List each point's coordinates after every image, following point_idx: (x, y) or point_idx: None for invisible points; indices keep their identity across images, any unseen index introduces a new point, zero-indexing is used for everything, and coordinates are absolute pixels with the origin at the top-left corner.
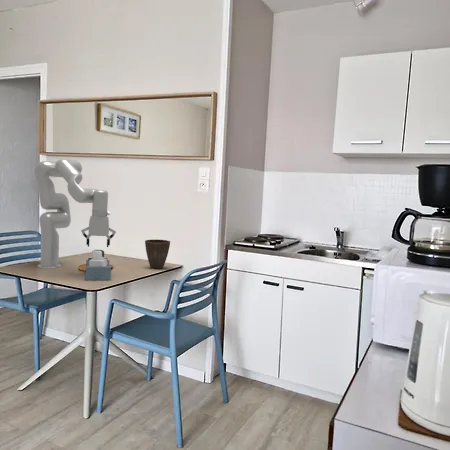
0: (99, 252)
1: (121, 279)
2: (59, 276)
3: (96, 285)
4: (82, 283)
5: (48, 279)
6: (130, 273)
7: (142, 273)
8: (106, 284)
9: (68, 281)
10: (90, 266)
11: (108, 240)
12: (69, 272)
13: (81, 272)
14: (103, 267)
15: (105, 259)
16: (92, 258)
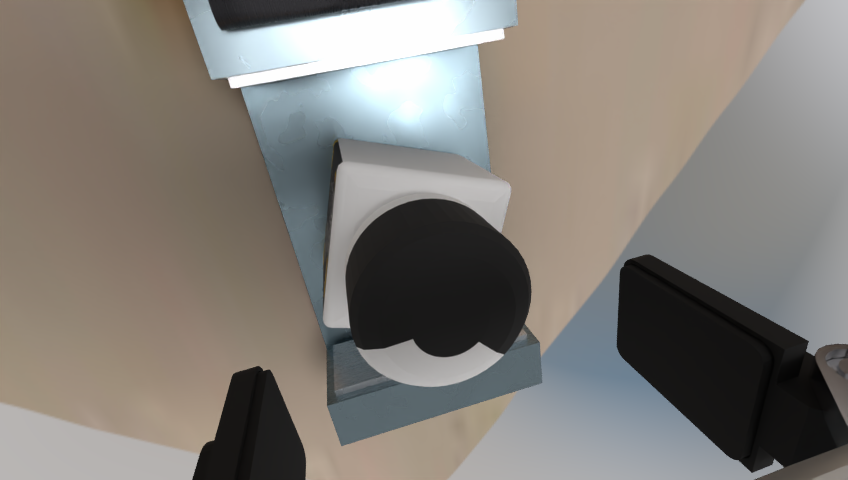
0: (471, 375)
1: (566, 287)
2: (66, 297)
3: (432, 453)
4: None
5: (40, 410)
6: (645, 62)
7: (734, 48)
8: (483, 421)
9: None
10: (369, 400)
11: (750, 451)
12: (58, 99)
13: (194, 80)
14: (484, 400)
15: (501, 227)
16: (283, 13)
